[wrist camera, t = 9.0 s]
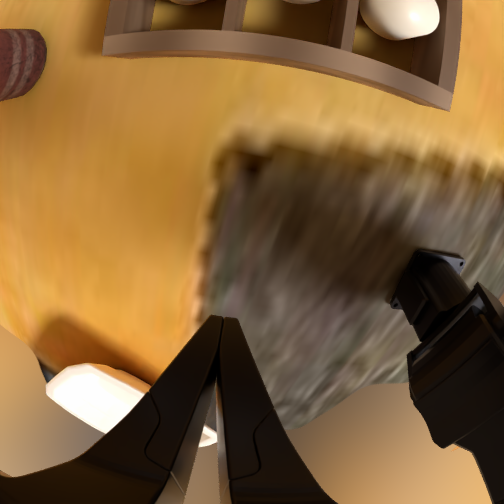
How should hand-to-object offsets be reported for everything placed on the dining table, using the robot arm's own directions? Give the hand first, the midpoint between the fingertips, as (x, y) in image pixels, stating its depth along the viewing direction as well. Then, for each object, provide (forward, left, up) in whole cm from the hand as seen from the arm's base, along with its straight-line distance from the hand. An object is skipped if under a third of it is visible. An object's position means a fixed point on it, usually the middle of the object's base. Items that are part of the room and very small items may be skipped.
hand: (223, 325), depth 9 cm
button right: (-7, -14, -11) cm, 19 cm away
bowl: (+13, +32, -13) cm, 37 cm away
